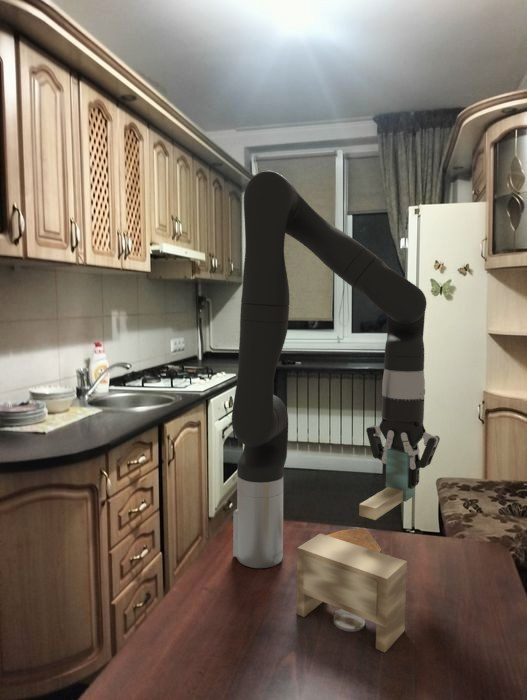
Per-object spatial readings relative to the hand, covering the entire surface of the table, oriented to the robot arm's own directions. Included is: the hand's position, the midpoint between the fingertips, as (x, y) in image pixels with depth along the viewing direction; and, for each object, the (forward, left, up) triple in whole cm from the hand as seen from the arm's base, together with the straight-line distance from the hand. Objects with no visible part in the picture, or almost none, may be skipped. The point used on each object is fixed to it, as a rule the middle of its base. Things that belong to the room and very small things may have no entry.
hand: (400, 484), depth 102 cm
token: (0, -19, -18) cm, 26 cm away
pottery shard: (-13, +6, -19) cm, 24 cm away
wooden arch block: (0, -19, -18) cm, 26 cm away
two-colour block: (0, -5, -2) cm, 6 cm away
